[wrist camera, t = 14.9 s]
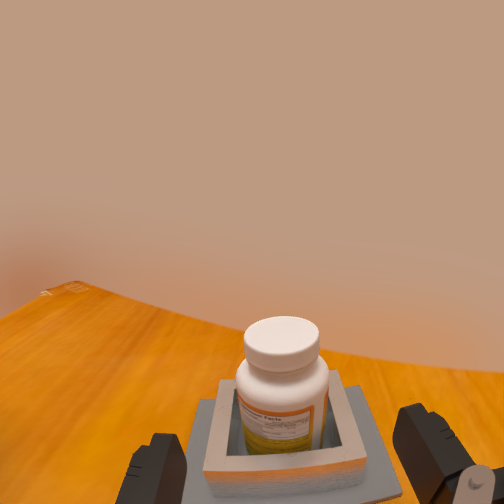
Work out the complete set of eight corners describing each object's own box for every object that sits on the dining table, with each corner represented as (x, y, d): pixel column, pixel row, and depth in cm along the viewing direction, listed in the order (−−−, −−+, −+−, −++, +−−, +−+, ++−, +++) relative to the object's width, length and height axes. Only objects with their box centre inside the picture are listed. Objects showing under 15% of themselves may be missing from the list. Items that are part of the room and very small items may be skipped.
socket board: (176, 518, 13) (154, 486, 12) (202, 408, 25) (192, 369, 24) (398, 500, 12) (416, 464, 11) (358, 395, 24) (362, 354, 23)
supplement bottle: (282, 410, 22) (278, 302, 19) (337, 440, 18) (352, 326, 15) (230, 446, 18) (209, 335, 16) (286, 487, 14) (284, 377, 12)
